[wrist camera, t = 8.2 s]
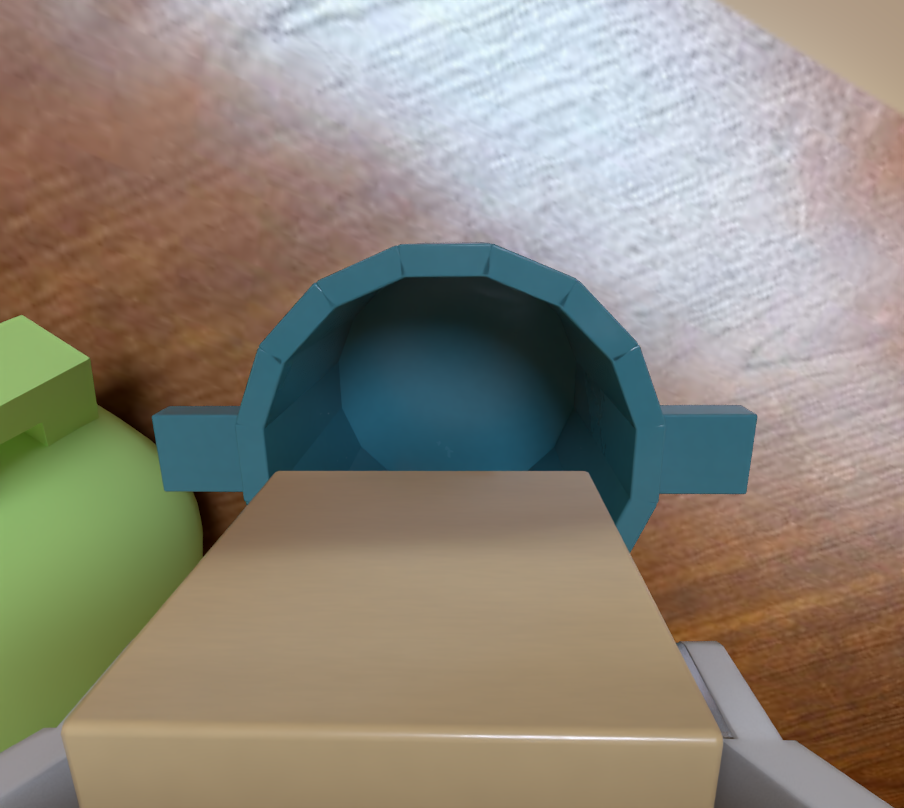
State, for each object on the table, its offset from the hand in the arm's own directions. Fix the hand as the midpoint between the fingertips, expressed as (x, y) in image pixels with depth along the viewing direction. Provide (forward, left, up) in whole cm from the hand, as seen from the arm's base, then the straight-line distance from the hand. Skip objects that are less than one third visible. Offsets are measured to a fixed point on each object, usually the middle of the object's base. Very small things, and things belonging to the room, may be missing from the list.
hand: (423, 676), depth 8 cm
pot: (0, 0, -17) cm, 17 cm away
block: (0, 0, -2) cm, 2 cm away
